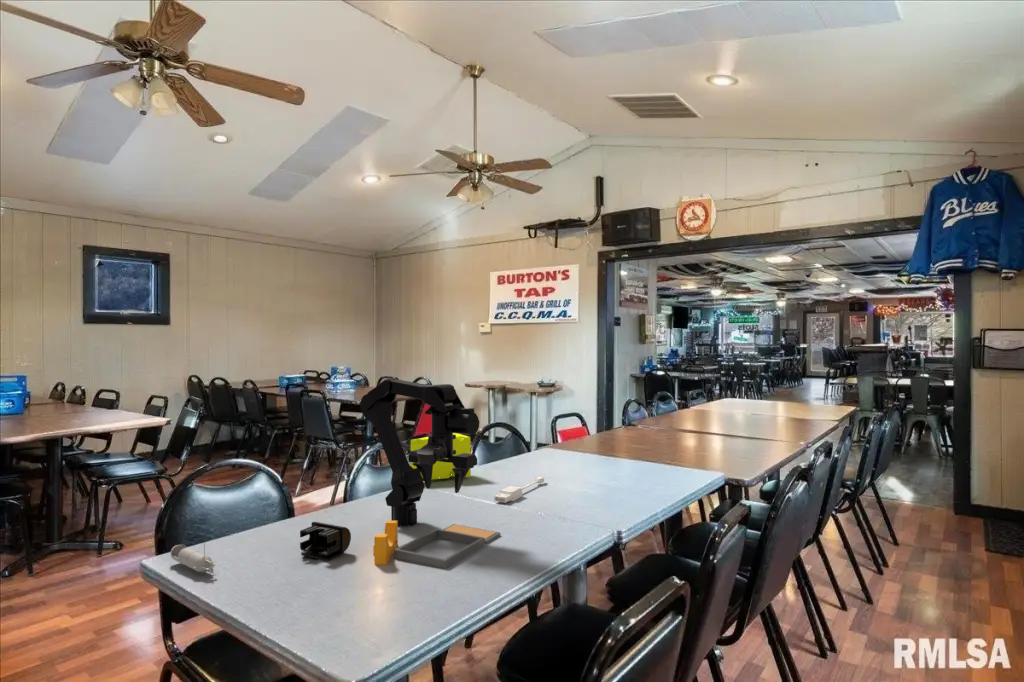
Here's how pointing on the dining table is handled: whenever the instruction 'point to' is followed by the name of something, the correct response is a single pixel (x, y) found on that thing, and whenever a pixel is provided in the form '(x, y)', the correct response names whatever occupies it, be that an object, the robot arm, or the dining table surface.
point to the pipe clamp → (385, 543)
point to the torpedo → (192, 558)
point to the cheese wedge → (445, 468)
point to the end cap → (325, 541)
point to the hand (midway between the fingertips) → (442, 490)
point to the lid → (474, 532)
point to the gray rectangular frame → (407, 555)
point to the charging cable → (514, 492)
